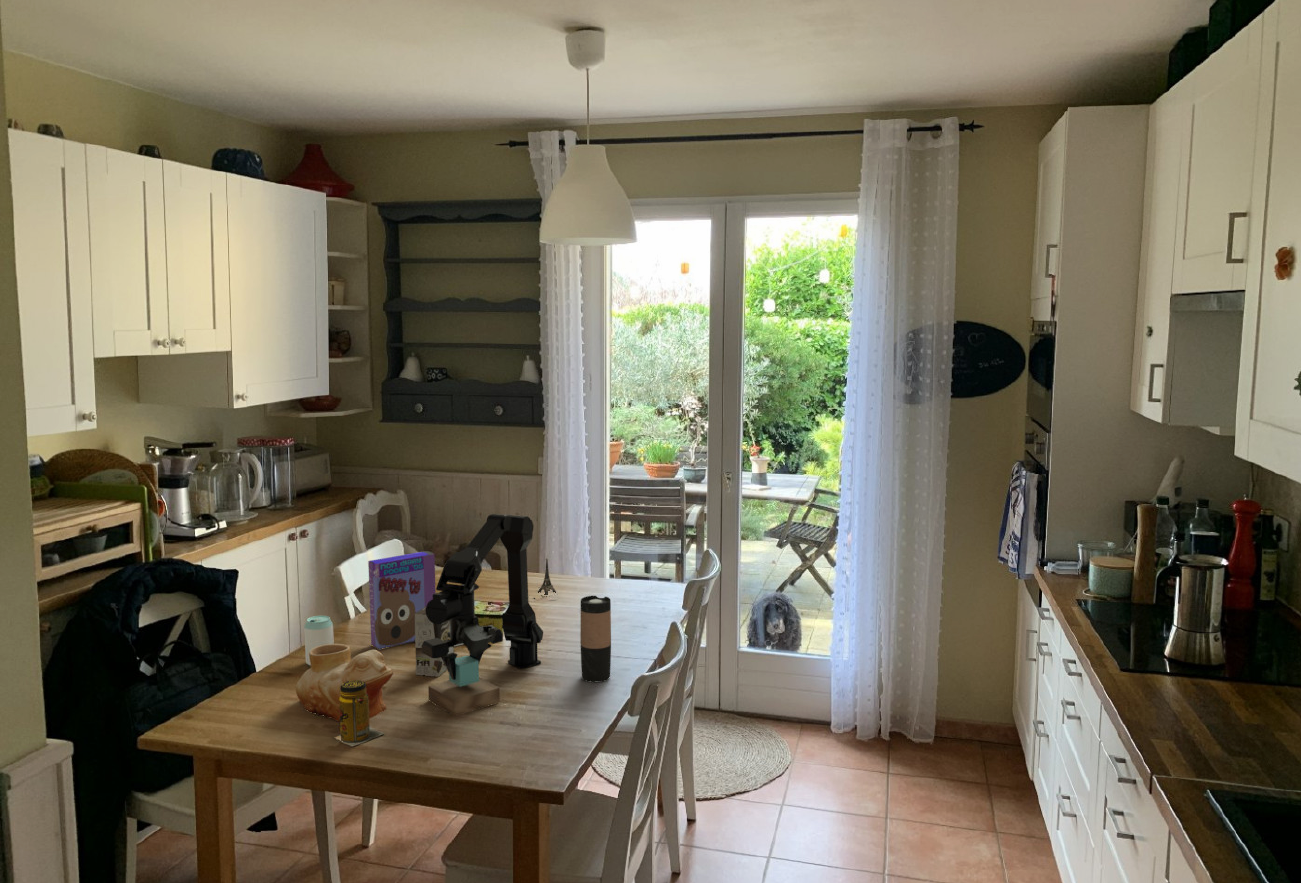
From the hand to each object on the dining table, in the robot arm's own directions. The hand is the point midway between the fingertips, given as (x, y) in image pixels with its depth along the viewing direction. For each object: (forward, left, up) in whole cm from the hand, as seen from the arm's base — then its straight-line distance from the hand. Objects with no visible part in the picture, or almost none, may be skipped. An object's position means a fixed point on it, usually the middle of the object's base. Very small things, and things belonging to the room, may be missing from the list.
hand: (463, 676), depth 230 cm
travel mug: (-33, +8, -6) cm, 35 cm away
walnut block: (0, 0, -6) cm, 6 cm away
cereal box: (-10, -49, -6) cm, 50 cm away
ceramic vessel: (+23, -14, -6) cm, 28 cm away
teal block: (0, 0, -1) cm, 1 cm away
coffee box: (-5, -23, -6) cm, 24 cm away
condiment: (+27, +2, -6) cm, 28 cm away
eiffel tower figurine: (-67, -61, -7) cm, 91 cm away
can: (+15, -47, -6) cm, 50 cm away
